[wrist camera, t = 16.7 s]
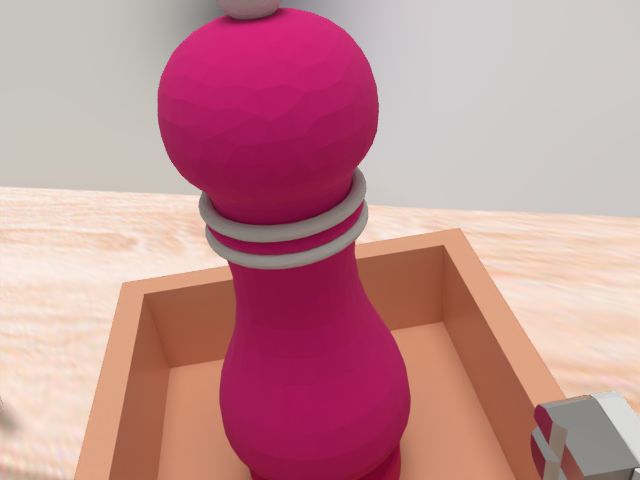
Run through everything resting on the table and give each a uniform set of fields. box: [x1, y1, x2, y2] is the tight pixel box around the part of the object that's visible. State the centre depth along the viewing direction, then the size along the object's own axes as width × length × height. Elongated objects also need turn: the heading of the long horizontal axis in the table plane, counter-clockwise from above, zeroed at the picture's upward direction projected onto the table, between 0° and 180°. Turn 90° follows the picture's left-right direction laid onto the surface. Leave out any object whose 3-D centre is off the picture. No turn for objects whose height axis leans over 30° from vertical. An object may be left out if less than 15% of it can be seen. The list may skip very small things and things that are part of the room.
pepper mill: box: [158, 0, 411, 480], centre depth 20 cm, size 7×7×20 cm
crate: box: [74, 228, 567, 480], centre depth 24 cm, size 17×17×6 cm
